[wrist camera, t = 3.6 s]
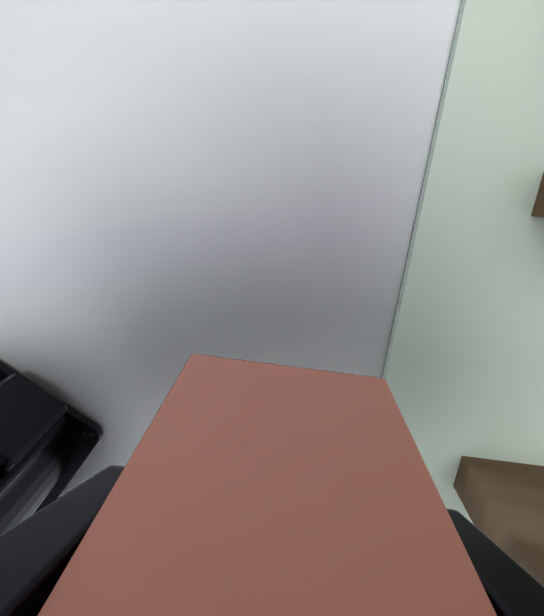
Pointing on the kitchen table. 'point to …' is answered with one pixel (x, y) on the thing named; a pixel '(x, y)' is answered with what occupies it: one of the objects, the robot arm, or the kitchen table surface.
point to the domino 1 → (506, 507)
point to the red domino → (272, 507)
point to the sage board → (478, 256)
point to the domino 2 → (539, 201)
